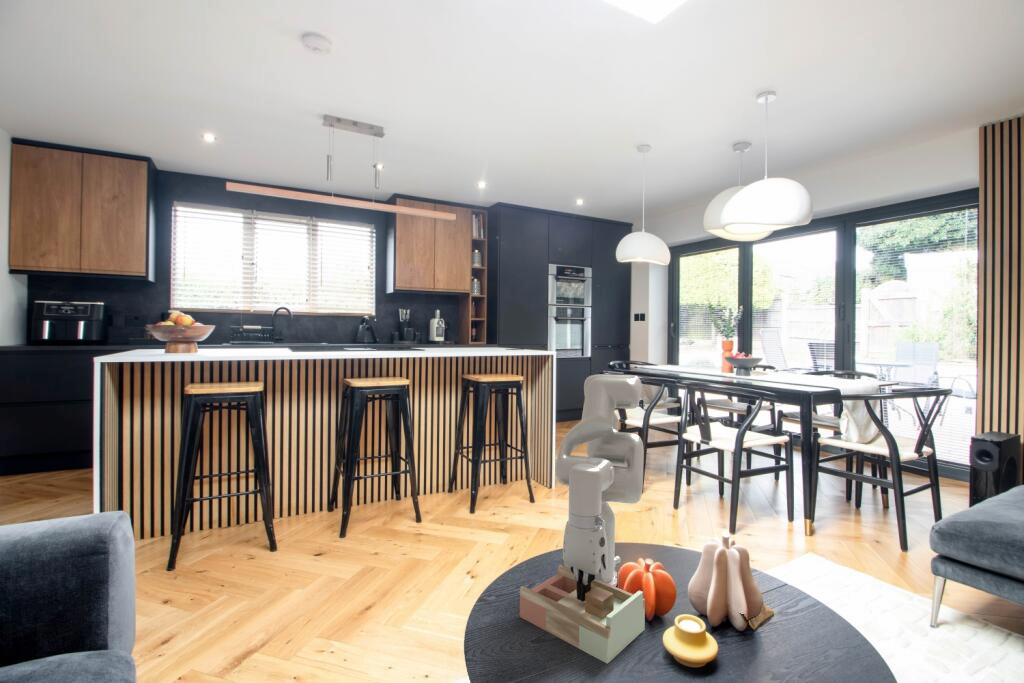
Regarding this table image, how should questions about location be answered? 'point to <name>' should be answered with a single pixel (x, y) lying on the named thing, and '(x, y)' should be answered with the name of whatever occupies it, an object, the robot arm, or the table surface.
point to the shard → (761, 617)
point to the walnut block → (599, 602)
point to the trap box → (583, 615)
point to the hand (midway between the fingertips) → (583, 598)
